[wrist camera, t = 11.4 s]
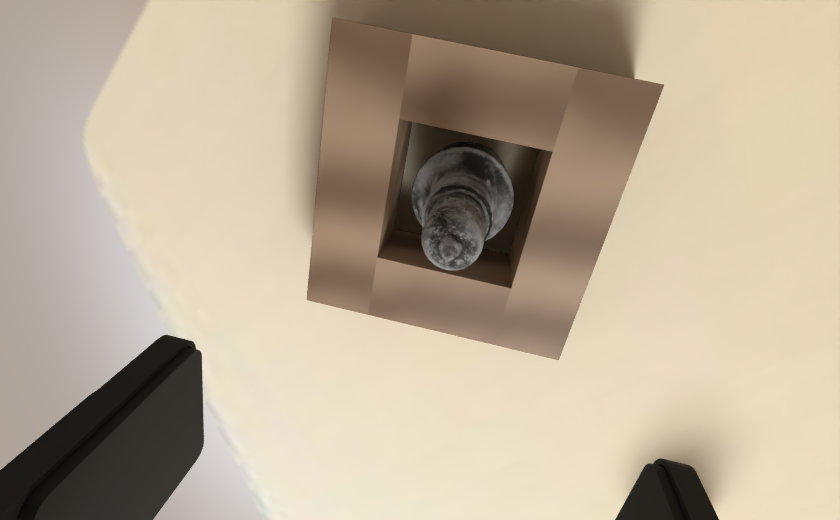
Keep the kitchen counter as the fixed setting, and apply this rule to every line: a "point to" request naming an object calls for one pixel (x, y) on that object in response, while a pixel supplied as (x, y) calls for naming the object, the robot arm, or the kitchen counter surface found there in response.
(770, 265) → the kitchen counter surface
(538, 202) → the well block
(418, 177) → the dark stone chess piece
